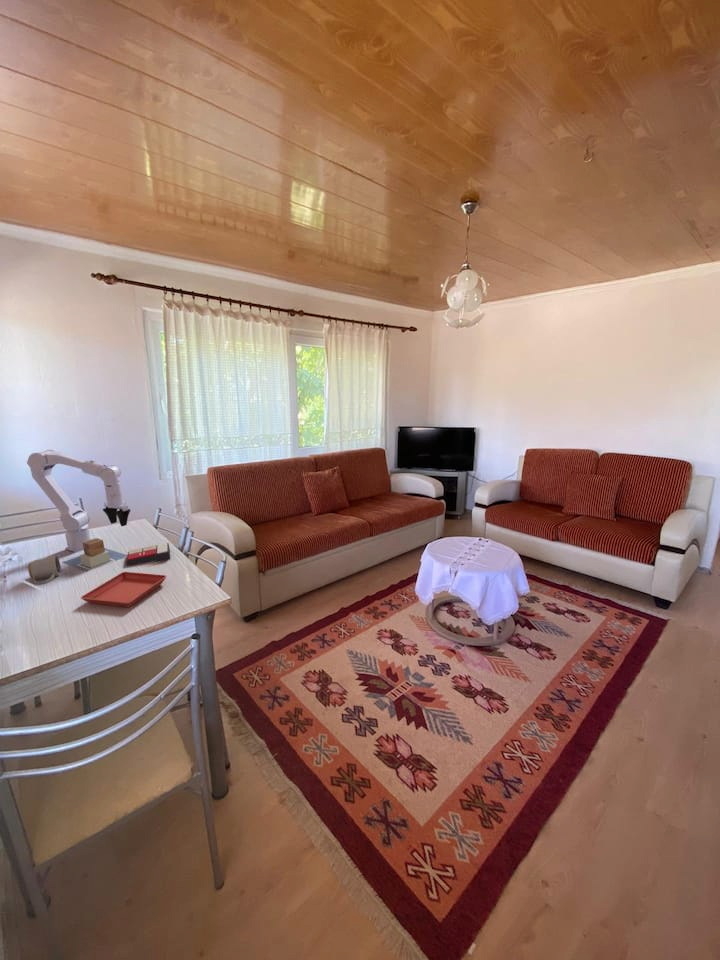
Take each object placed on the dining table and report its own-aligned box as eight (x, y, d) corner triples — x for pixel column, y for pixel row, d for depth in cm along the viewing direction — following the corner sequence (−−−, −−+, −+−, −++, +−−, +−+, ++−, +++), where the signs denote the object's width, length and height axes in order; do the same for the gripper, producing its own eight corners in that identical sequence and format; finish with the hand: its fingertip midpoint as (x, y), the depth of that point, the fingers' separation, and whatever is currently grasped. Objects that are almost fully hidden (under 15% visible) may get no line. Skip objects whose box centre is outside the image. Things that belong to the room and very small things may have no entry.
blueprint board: (62, 563, 153) (62, 562, 153) (104, 549, 167) (104, 547, 166) (86, 573, 144) (86, 571, 144) (129, 556, 158) (128, 555, 158)
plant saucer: (130, 611, 119) (128, 602, 118) (80, 606, 122) (78, 597, 121) (168, 583, 136) (167, 575, 135) (124, 579, 139) (123, 571, 139)
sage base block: (81, 564, 150) (79, 554, 150) (100, 557, 156) (98, 548, 156) (91, 568, 147) (89, 558, 146) (110, 561, 153) (108, 551, 152)
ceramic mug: (34, 576, 143) (30, 557, 141) (62, 570, 147) (58, 552, 145) (29, 588, 134) (24, 568, 132) (58, 582, 138) (54, 562, 136)
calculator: (127, 549, 157) (168, 540, 164) (130, 559, 158) (170, 550, 165) (125, 559, 148) (168, 550, 154) (127, 569, 149) (170, 559, 155)
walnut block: (84, 554, 150) (82, 542, 149) (98, 549, 154) (96, 538, 153) (91, 556, 148) (89, 544, 147) (105, 552, 152) (102, 540, 151)
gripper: (133, 493, 165) (137, 523, 168) (113, 490, 172) (118, 519, 175) (116, 497, 159) (121, 529, 162) (97, 494, 166) (102, 523, 169)
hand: (118, 524), depth 168 cm, fingers open, 7 cm apart
